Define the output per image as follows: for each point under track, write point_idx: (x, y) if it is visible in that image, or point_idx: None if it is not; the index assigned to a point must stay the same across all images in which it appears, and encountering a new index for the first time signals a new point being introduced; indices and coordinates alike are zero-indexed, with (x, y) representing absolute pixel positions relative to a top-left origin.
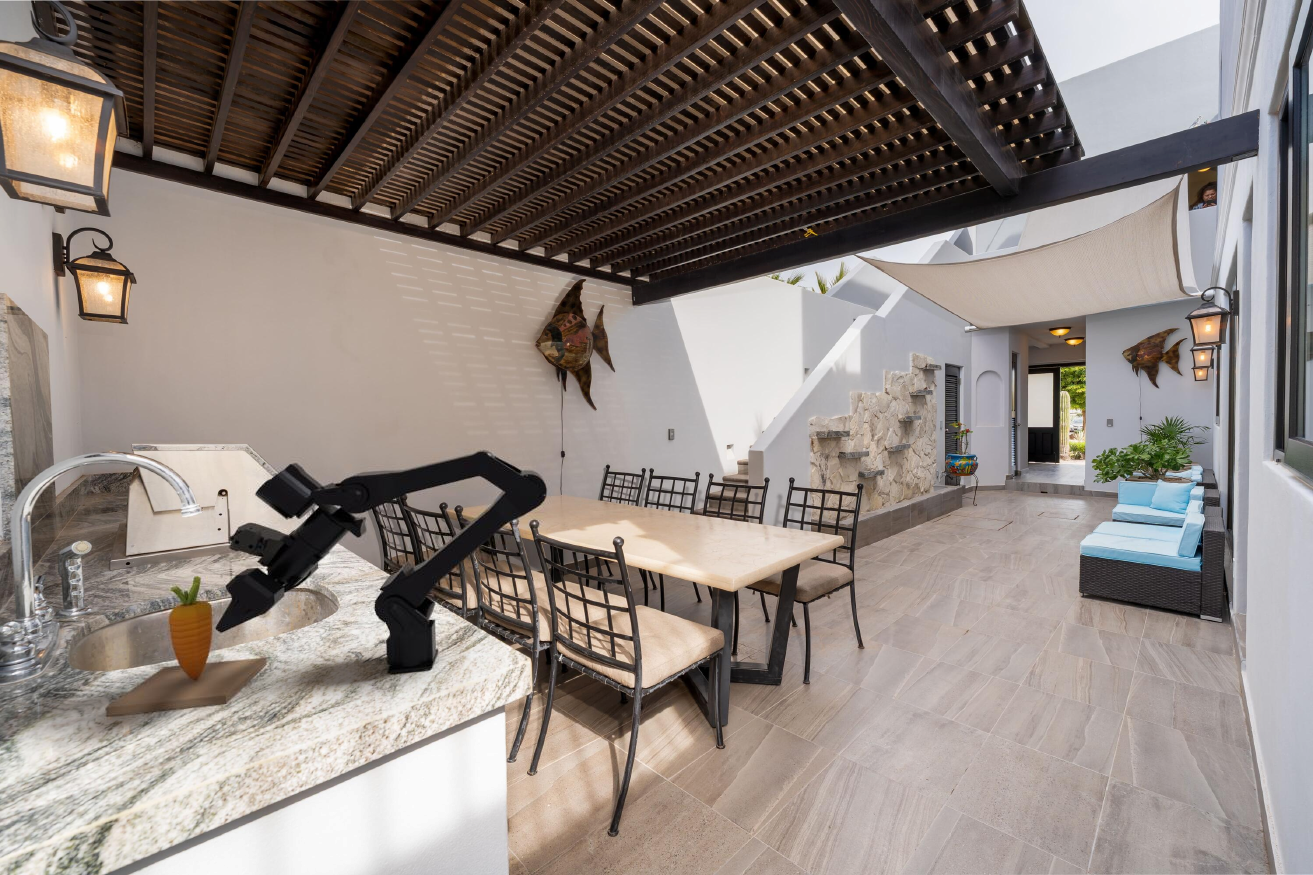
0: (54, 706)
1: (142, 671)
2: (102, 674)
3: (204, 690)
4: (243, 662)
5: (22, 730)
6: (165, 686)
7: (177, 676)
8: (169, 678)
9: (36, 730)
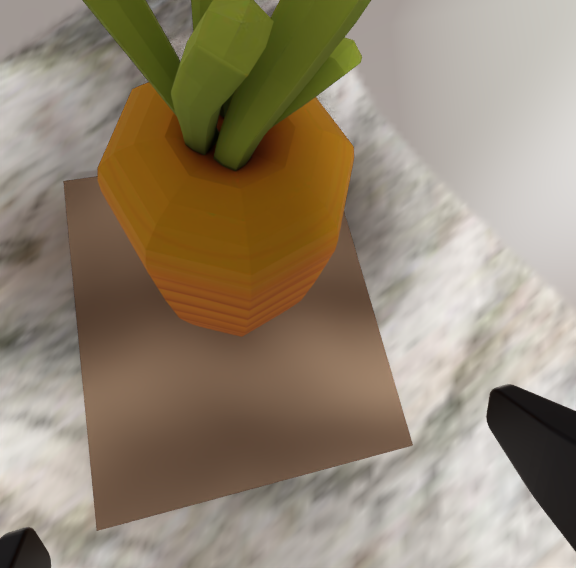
0: None
1: (338, 91)
2: None
3: (146, 408)
4: (367, 382)
5: (32, 57)
6: None
7: None
8: None
9: (25, 86)
